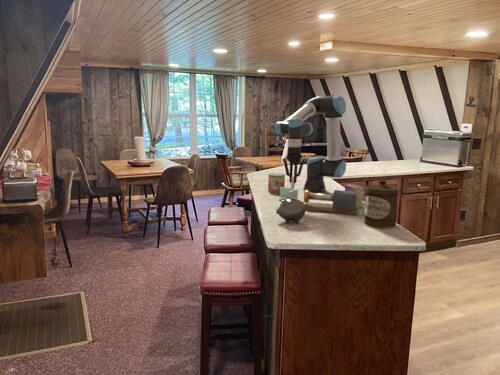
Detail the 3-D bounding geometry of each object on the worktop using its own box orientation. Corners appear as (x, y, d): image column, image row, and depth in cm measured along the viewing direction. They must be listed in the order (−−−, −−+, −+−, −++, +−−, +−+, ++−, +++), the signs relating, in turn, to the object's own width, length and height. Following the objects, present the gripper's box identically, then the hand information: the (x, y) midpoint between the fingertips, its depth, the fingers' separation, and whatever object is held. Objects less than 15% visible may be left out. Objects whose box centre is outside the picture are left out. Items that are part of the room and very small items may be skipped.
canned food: (266, 192, 260) (266, 175, 258) (269, 189, 271) (270, 172, 269) (283, 193, 258) (283, 175, 255) (285, 190, 268) (286, 173, 266)
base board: (294, 203, 229) (294, 201, 228) (357, 208, 218) (358, 206, 218) (289, 209, 214) (289, 207, 213) (356, 215, 203) (357, 212, 203)
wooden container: (357, 223, 188) (360, 179, 184) (372, 218, 198) (376, 176, 194) (386, 230, 177) (390, 183, 173) (401, 224, 188) (405, 179, 184)
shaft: (305, 200, 222) (306, 188, 221) (343, 203, 216) (343, 191, 214) (303, 203, 215) (304, 191, 214) (342, 206, 209) (343, 193, 208)
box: (343, 204, 230) (344, 184, 227) (351, 203, 232) (353, 184, 229) (354, 208, 220) (355, 187, 218) (362, 207, 222) (363, 187, 220)
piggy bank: (276, 218, 195) (277, 196, 193) (306, 220, 193) (307, 197, 191) (275, 224, 184) (275, 200, 182) (306, 226, 182) (308, 202, 180)
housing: (333, 205, 218) (334, 190, 217) (355, 207, 215) (357, 191, 213) (332, 209, 210) (333, 192, 209) (355, 210, 207) (356, 194, 205)
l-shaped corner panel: (280, 198, 244) (280, 186, 243) (297, 200, 238) (298, 189, 237) (271, 202, 234) (271, 189, 233) (289, 204, 228) (289, 192, 227)
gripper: (281, 146, 213) (279, 188, 217) (305, 147, 210) (302, 190, 214) (284, 145, 220) (282, 186, 224) (307, 146, 217) (305, 188, 221)
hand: (292, 188), depth 219 cm, fingers closed
